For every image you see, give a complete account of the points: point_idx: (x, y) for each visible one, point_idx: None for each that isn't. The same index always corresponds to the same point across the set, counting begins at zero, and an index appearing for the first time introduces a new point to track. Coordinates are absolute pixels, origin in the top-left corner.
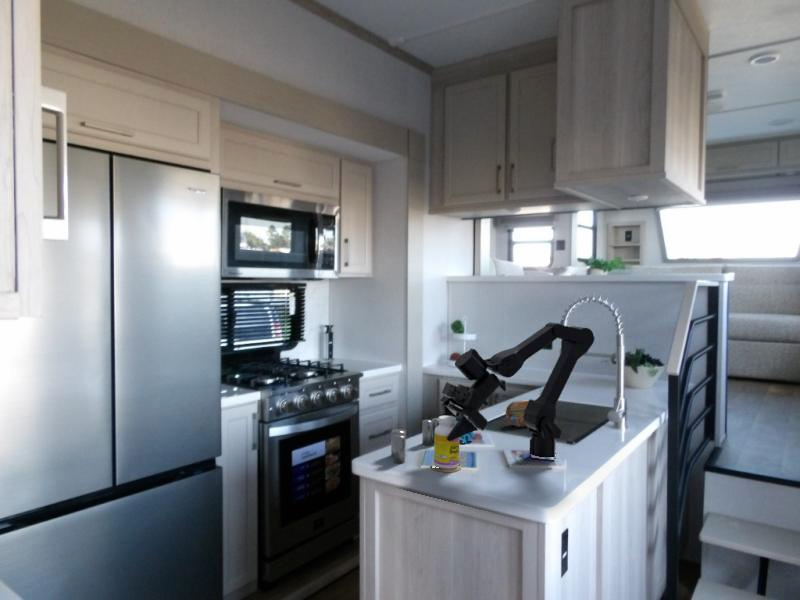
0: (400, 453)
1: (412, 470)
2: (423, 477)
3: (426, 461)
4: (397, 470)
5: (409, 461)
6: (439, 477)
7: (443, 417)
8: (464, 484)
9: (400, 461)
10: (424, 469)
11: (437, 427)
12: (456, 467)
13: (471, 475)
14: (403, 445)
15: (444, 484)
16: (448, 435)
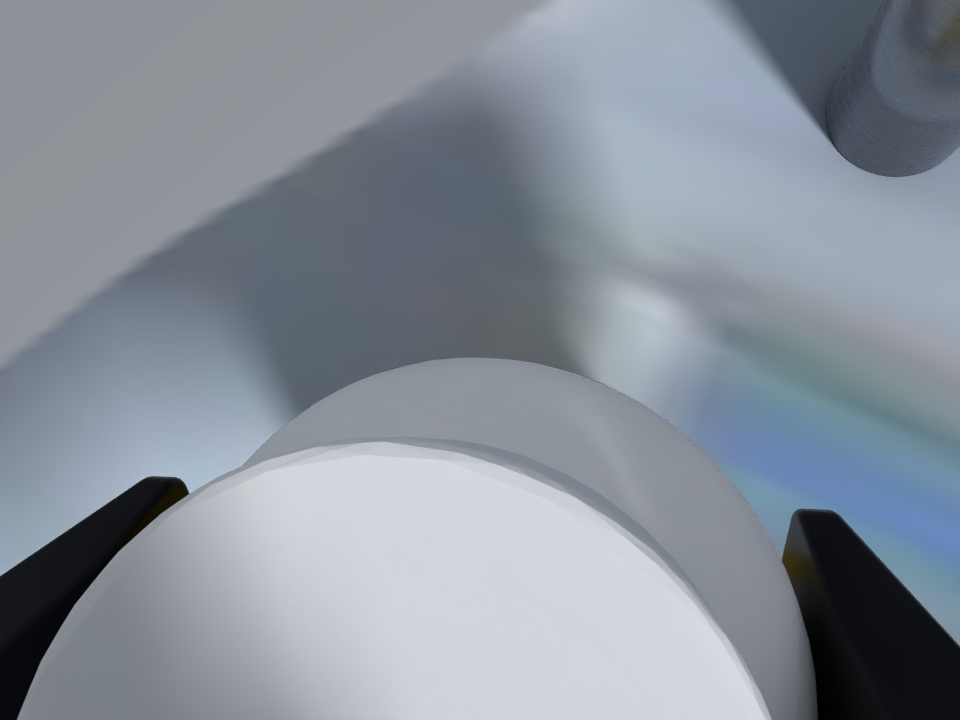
0: (864, 41)
1: (562, 163)
2: (337, 198)
3: (810, 426)
4: (613, 19)
5: (871, 231)
6: (280, 347)
7: (440, 685)
8: (35, 493)
9: (832, 97)
10: (548, 294)
11: (513, 419)
12: None
13: None
14: (920, 22)
15: (109, 315)
16: (130, 520)
